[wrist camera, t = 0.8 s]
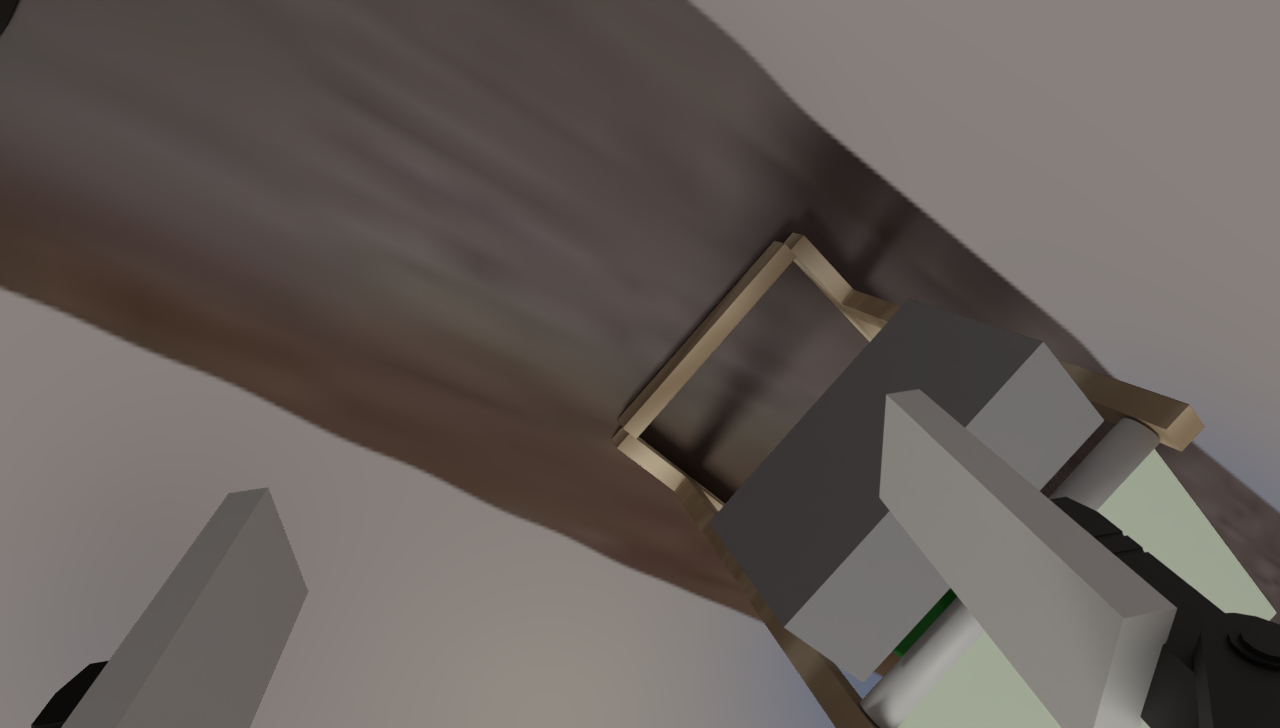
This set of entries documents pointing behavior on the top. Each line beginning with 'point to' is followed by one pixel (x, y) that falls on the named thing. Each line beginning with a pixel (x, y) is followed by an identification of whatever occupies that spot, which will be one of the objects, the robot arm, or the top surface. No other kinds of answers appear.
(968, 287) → the top surface
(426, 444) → the top surface
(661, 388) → the trapdoor stand
